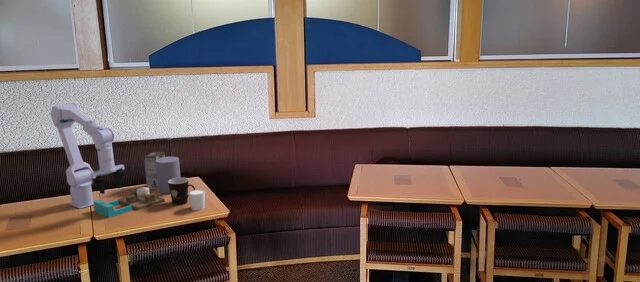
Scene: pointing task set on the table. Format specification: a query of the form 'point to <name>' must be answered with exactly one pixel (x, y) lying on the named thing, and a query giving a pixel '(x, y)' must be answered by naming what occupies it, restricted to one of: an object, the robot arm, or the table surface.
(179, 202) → the coffee mug
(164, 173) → the container
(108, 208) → the teal c-shaped bracket
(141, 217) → the table surface
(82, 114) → the robot arm
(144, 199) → the stand
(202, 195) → the white cylinder
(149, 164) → the coffee box
